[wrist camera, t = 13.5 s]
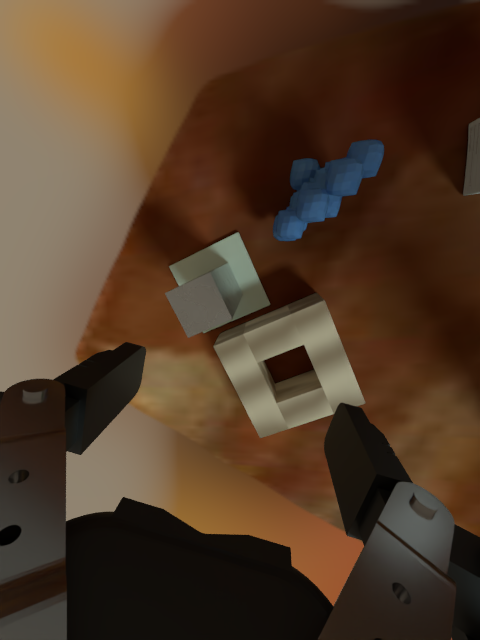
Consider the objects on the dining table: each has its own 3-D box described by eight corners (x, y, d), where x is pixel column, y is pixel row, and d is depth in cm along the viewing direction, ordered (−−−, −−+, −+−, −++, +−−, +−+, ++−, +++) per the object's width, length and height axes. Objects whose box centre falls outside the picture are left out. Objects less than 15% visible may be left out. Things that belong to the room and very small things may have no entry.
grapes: (330, 135, 30) (369, 71, 19) (366, 185, 31) (424, 151, 20) (251, 210, 33) (243, 193, 22) (286, 253, 34) (296, 258, 23)
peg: (242, 294, 36) (232, 318, 24) (212, 307, 37) (188, 337, 25) (228, 262, 35) (209, 272, 23) (197, 277, 36) (165, 293, 24)
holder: (352, 383, 38) (365, 403, 33) (260, 415, 41) (260, 438, 36) (316, 292, 35) (324, 300, 30) (219, 333, 38) (213, 346, 33)
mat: (270, 304, 36) (270, 304, 36) (204, 332, 38) (203, 333, 38) (238, 232, 34) (238, 232, 34) (169, 266, 36) (168, 266, 36)
